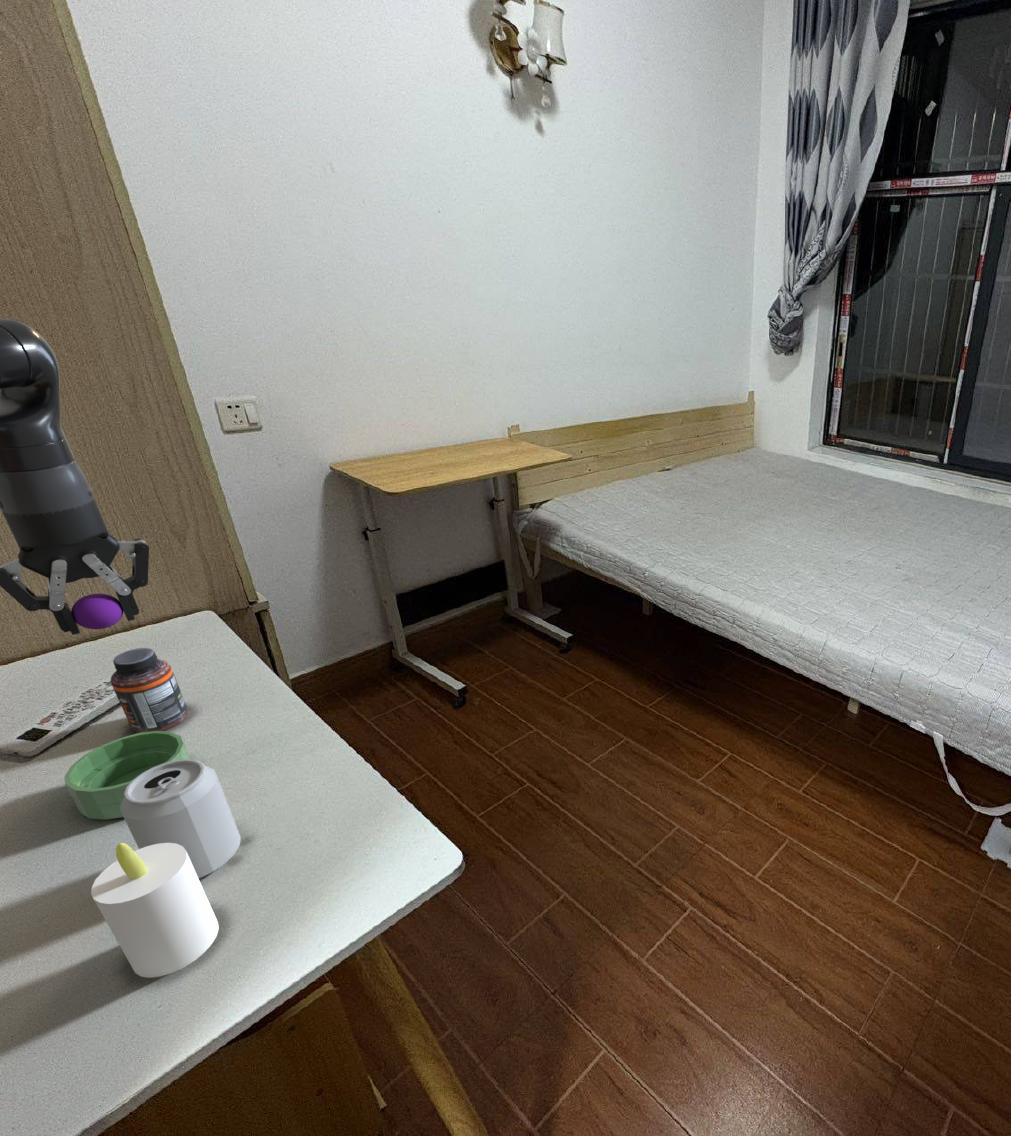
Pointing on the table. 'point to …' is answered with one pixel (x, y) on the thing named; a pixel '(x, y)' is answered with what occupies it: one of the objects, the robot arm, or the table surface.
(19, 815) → the table surface
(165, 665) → the supplement bottle
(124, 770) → the bowl
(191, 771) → the can
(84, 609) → the ball
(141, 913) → the candle
